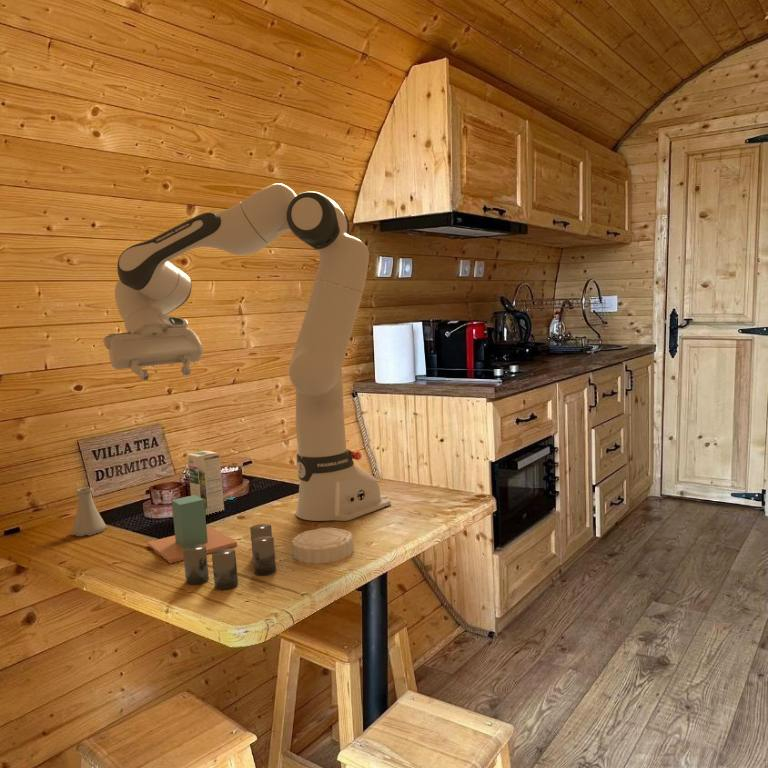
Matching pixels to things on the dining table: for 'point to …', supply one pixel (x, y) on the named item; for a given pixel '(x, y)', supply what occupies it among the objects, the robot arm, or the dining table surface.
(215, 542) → the tile
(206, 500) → the syrup box
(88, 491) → the flask
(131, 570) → the dining table surface
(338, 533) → the mooncake
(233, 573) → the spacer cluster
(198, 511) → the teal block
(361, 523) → the dining table surface
